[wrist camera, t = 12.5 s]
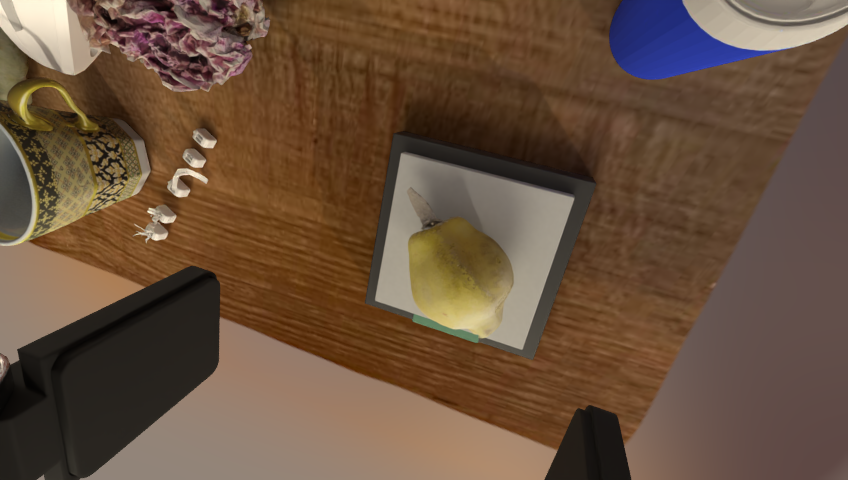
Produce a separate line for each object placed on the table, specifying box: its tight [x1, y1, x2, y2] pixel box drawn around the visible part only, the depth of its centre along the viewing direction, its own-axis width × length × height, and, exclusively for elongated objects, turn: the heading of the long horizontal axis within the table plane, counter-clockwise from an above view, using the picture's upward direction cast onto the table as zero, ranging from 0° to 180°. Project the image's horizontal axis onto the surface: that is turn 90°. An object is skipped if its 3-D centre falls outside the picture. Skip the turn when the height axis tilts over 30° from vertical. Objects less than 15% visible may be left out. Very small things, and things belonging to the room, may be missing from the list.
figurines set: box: [133, 128, 217, 243], centre depth 34 cm, size 12×3×3 cm, turn 141°
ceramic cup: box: [0, 77, 150, 246], centre depth 31 cm, size 13×10×10 cm
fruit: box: [407, 187, 514, 338], centre depth 25 cm, size 6×6×10 cm
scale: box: [365, 131, 596, 360], centre depth 29 cm, size 13×13×3 cm
